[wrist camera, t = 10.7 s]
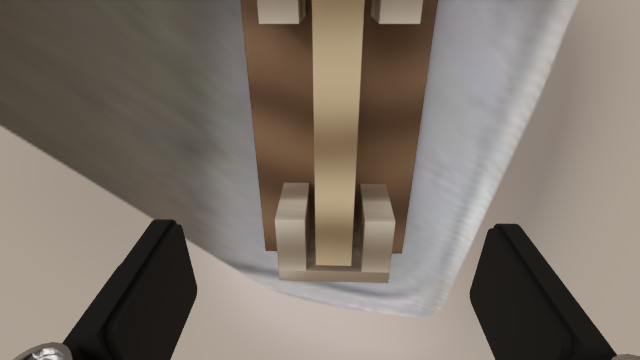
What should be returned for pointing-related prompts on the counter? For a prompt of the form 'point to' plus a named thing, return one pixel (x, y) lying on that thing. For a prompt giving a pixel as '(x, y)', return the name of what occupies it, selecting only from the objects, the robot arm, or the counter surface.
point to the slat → (336, 124)
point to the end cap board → (373, 130)
